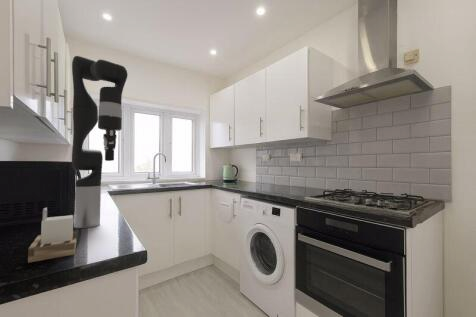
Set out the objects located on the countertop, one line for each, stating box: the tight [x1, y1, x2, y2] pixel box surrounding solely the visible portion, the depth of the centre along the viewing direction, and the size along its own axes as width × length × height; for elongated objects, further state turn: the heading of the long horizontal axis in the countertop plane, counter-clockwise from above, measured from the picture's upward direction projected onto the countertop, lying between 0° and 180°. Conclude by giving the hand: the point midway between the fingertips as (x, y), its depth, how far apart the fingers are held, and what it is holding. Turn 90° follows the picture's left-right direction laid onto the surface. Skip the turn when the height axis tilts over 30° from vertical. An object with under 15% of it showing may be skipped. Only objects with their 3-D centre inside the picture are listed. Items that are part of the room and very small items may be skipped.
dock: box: [27, 231, 78, 264], centre depth 68 cm, size 14×10×4 cm
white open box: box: [40, 207, 74, 247], centre depth 68 cm, size 5×7×12 cm
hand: (109, 160), depth 81 cm, fingers open, 8 cm apart
